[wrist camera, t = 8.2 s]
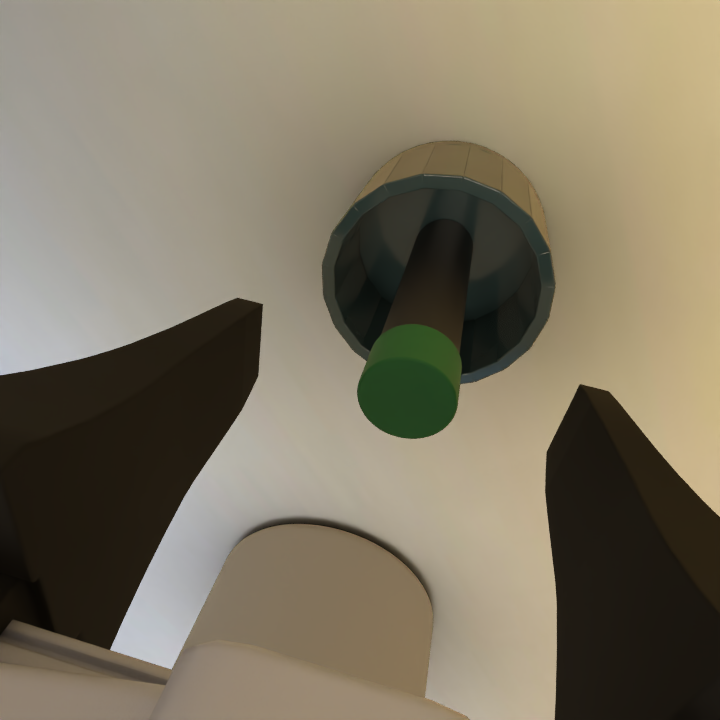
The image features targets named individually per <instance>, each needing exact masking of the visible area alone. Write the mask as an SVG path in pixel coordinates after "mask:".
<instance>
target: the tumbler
mask: <svg viewBox="0 0 720 720" xmlns="http://www.w3.org/2000/svg"><path fill="white" fill-rule="evenodd" d="M442 219H447V220H452V221H455V222H457V223H459V224H461V225H462V226H463V227H465V229H466V230H467V231H468V232H469V234H470V236H471V238H472V242H473V252H472V260H471V267H470V275H469V283H468V291H467V299H466V306H465V314H464V322H463V330H462V337H461V345H460V353H459V355H460V358H461V362H462V371H461V380H460V384H465V383H472V382H476V381H478V380H481V379H483V378H486V377H488V376H490V375H493V374H495V373H497V372H500V371H502V370H504V369H506V368H507V367H508V366H510V365H511V364H512V363H513V362H514V361H516V360H517V359H518V358H519V357H520V356H522V355H523V354H524V353H525V352H526V351H528V350H529V349H530V348H531V347H532V345H533V344H534V342H535V340H536V339H537V337H538V336H539V334H540V332H541V331H542V329H543V328H544V326H545V324H546V323H547V321H548V319H549V316H550V311H551V306H552V302H553V297H554V293H555V288H556V286H555V285H556V282H555V276H554V269H553V262H552V256H551V249H550V244H549V238H548V232H547V227H546V221H545V215H544V211H543V208H542V206H541V202H540V200H539V198H538V196H537V193H536V191H535V189H534V188H533V186H532V185H531V183H530V182H529V180H528V179H527V177H526V176H525V175H524V174H523V173H522V172H521V171H520V169H519V168H517V167H516V166H515V165H514V164H513V163H512V162H510V161H509V160H508V159H506V158H505V157H503V156H502V155H500V154H498V153H497V152H494V151H492V150H490V149H488V148H486V147H483V146H479V145H476V144H473V143H467V142H460V141H439V142H431V143H427V144H423V145H419V146H416V147H414V148H411V149H409V150H407V151H404V152H403V153H401V154H399V155H397V156H396V157H394V158H392V159H391V160H390V161H389V162H387V163H386V164H385V165H384V166H382V167H381V168H380V170H378V171H377V172H376V173H375V174H374V176H373V177H372V178H371V180H370V181H369V182H368V184H367V185H366V186H365V188H364V189H363V190H362V192H361V193H360V194H359V196H358V197H357V198H356V200H355V201H354V203H353V204H352V205H351V207H350V208H349V209H348V211H347V212H346V214H345V215H344V216H343V218H342V219H341V220H340V222H339V223H338V224H337V226H336V227H335V229H334V230H333V232H332V233H331V236H330V240H329V243H328V246H327V249H326V253H325V256H324V259H323V262H322V278H323V296H324V300H325V302H326V305H327V308H328V310H329V313H330V316H331V318H332V321H333V324H334V325H335V328H336V329H337V330H338V331H339V333H340V334H341V335H342V337H343V338H344V339H345V341H346V342H347V343H348V345H349V346H350V347H351V348H352V350H353V351H354V352H355V353H357V354H358V355H359V356H361V357H362V358H363V359H365V360H366V361H367V359H368V357H369V354H370V351H371V349H372V347H373V344H374V343H375V341H376V340H377V339H378V338H379V337H380V336H381V334H382V331H383V328H384V325H385V323H386V320H387V317H388V314H389V312H390V309H391V306H392V304H393V301H394V298H395V295H396V293H397V290H398V287H399V284H400V282H401V279H402V276H403V273H404V271H405V268H406V265H407V263H408V260H409V257H410V254H411V252H412V249H413V246H414V243H415V241H416V238H417V236H418V234H419V232H420V231H421V229H422V228H423V227H424V226H426V225H427V224H429V223H431V222H433V221H436V220H442Z"/></svg>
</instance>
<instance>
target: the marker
mask: <svg viewBox="0 0 720 720" xmlns="http://www.w3.org/2000/svg"><path fill="white" fill-rule="evenodd" d="M472 252H473V242H472V238H471V236H470V234H469V232H468V231H467V230H466V229H465V227H463V226H462V225H461V224H459V223H457V222H455V221H452V220H447V219H442V220H436V221H433V222H431V223H429V224H427V225H426V226H424V227H423V228H422V229H421V231H420V232H419V234H418V236H417V238H416V241H415V243H414V246H413V249H412V252H411V254H410V257H409V260H408V263H407V265H406V268H405V271H404V273H403V276H402V279H401V282H400V284H399V287H398V290H397V293H396V295H395V298H394V301H393V304H392V306H391V309H390V312H389V314H388V317H387V320H386V323H385V325H384V328H383V331H382V334H381V336H380V337H379V338H378V339H377V340H376V341H375V343H374V344H373V347H372V349H371V351H370V354H369V357H368V359H367V362H366V365H365V367H364V370H363V372H362V375H361V378H360V380H359V384H358V389H357V397H358V402H359V405H360V407H361V409H362V411H363V413H364V415H365V416H366V417H367V419H368V420H369V421H370V422H371V423H372V424H373V425H375V426H376V427H377V428H379V429H380V430H382V431H384V432H386V433H388V434H390V435H393V436H397V437H401V438H409V439H416V438H424V437H428V436H431V435H434V434H436V433H438V432H440V431H441V430H443V429H444V428H445V427H446V426H447V425H448V424H449V423H450V422H451V421H452V419H453V418H454V416H455V413H456V410H457V406H458V397H459V389H460V380H461V371H462V362H461V358H460V355H459V353H460V345H461V337H462V330H463V322H464V314H465V306H466V299H467V291H468V283H469V275H470V267H471V260H472Z"/></svg>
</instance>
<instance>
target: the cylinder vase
mask: <svg viewBox="0 0 720 720" xmlns="http://www.w3.org/2000/svg"><path fill="white" fill-rule="evenodd" d="M432 630H433V612H432V607H431V603H430V600H429V598H428V595H427V593H426V591H425V589H424V587H423V586H422V584H421V583H420V581H419V580H418V579H417V577H416V576H415V575H414V574H413V572H412V571H411V570H410V569H409V568H408V567H407V566H406V565H405V564H404V563H402V562H401V561H400V560H399V559H398V558H396V557H395V556H394V555H392V554H391V553H389V552H388V551H386V550H385V549H383V548H382V547H380V546H378V545H376V544H375V543H373V542H371V541H369V540H367V539H364V538H362V537H360V536H357V535H355V534H352V533H349V532H346V531H343V530H339V529H335V528H331V527H326V526H320V525H311V524H286V525H279V526H273V527H269V528H266V529H263V530H260V531H257V532H255V533H253V534H251V535H249V536H248V537H246V538H245V539H243V540H242V541H241V542H239V543H238V544H237V545H236V546H235V547H234V548H233V550H232V551H231V552H230V554H229V555H228V557H227V559H226V561H225V563H224V565H223V567H222V569H221V571H220V573H219V575H218V577H217V579H216V581H215V583H214V585H213V587H212V589H211V591H210V593H209V595H208V597H207V599H206V601H205V603H204V605H203V607H202V609H201V611H200V613H199V615H198V618H197V620H196V622H195V624H194V626H193V628H192V630H191V632H190V634H189V636H188V638H187V640H186V642H185V644H184V646H183V648H182V650H181V652H180V654H179V656H178V658H177V660H176V662H175V664H174V666H173V668H172V670H173V669H174V667H175V665H176V663H177V661H178V659H179V658H180V656H181V654H182V652H183V650H184V649H186V648H189V647H192V646H194V645H199V644H203V643H207V642H211V641H216V640H224V641H230V642H236V643H243V644H249V645H255V646H258V647H261V648H264V649H268V650H271V651H274V652H277V653H281V654H284V655H287V656H290V657H294V658H297V659H300V660H303V661H306V662H310V663H313V664H316V665H319V666H323V667H326V668H329V669H332V670H336V671H339V672H342V673H345V674H349V675H352V676H355V677H358V678H362V679H365V680H368V681H371V682H375V683H378V684H381V685H384V686H387V687H391V688H394V689H397V690H400V691H404V692H407V693H410V694H413V695H417V696H420V697H423V698H425V691H426V682H427V674H428V665H429V656H430V647H431V639H432Z"/></svg>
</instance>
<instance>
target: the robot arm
mask: <svg viewBox="0 0 720 720" xmlns="http://www.w3.org/2000/svg"><path fill="white" fill-rule="evenodd" d="M262 310H263V304H260V303H256V302H252V301H248V300H244V299H240V298H236V299H233V300H231V301H228V302H226V303H224V304H222V305H219V306H217V307H215V308H213V309H211V310H209V311H206V312H204V313H202V314H200V315H198V316H196V317H193V318H191V319H189V320H187V321H185V322H182V323H180V324H178V325H176V326H174V327H171V328H169V329H167V330H164V331H161V332H159V333H156V334H154V335H151V336H149V337H146V338H144V339H141V340H139V341H136V342H134V343H131V344H128V345H126V346H123V347H120V348H117V349H114V350H111V351H107V352H104V353H100V354H97V355H94V356H90V357H87V358H83V359H79V360H75V361H71V362H66V363H62V364H57V365H53V366H48V367H44V368H40V369H35V370H30V371H24V372H18V373H12V374H6V375H0V720H470V719H469V718H468V717H467V716H465V715H463V714H460V713H458V712H456V711H454V710H452V709H450V708H448V707H445V706H443V705H441V704H439V703H437V702H435V701H432V700H430V699H426V698H423V697H420V696H417V695H413V694H410V693H407V692H404V691H400V690H397V689H394V688H391V687H387V686H384V685H381V684H378V683H375V682H371V681H368V680H365V679H362V678H358V677H355V676H352V675H349V674H345V673H342V672H339V671H336V670H332V669H329V668H326V667H323V666H319V665H316V664H313V663H310V662H306V661H303V660H300V659H297V658H294V657H290V656H287V655H284V654H281V653H277V652H274V651H271V650H268V649H264V648H261V647H258V646H255V645H249V644H243V643H236V642H230V641H224V640H216V641H211V642H207V643H203V644H199V645H194V646H192V647H189V648H186V649H184V650H183V652H182V654H181V656H180V658H179V659H178V661H177V663H176V665H175V667H174V669H173V670H171V669H168V668H164V667H161V666H158V665H155V664H152V663H149V662H146V661H142V660H139V659H136V658H133V657H130V656H127V655H123V654H120V653H117V652H114V651H111V650H110V648H111V646H112V644H113V642H114V639H115V637H116V635H117V633H118V630H119V628H120V626H121V623H122V621H123V619H124V617H125V615H126V612H127V610H128V608H129V606H130V604H131V602H132V600H133V598H134V596H135V593H136V591H137V589H138V587H139V585H140V583H141V581H142V579H143V576H144V574H145V572H146V570H147V568H148V566H149V564H150V562H151V560H152V558H153V556H154V554H155V552H156V550H157V548H158V546H159V544H160V542H161V540H162V538H163V536H164V534H165V532H166V530H167V528H168V526H169V525H170V523H171V521H172V519H173V517H174V515H175V513H176V511H177V509H178V508H179V506H180V504H181V502H182V500H183V498H184V496H185V495H186V493H187V491H188V490H189V488H190V486H191V485H192V483H193V482H194V480H195V478H196V477H197V476H198V474H199V473H200V471H201V470H202V468H203V467H204V465H205V464H206V462H207V461H208V459H209V458H210V456H211V455H212V453H213V452H214V451H215V449H216V448H217V446H218V445H219V443H220V442H221V440H222V439H223V437H224V436H225V434H226V433H227V431H228V430H229V428H230V427H231V425H232V424H233V422H234V421H235V419H236V418H237V416H238V415H239V413H240V412H241V410H242V408H243V406H244V404H245V402H246V400H247V398H248V396H249V394H250V392H251V390H252V388H253V386H254V384H255V382H256V379H257V377H258V372H259V356H260V341H261V325H262ZM545 493H546V504H547V513H548V522H549V531H550V540H551V548H552V557H553V565H554V574H555V583H556V597H557V671H556V705H555V720H720V517H719V516H718V515H717V514H716V513H715V512H714V511H713V510H712V509H711V508H710V507H709V506H708V505H707V504H706V503H705V502H704V501H703V500H702V499H701V498H700V497H699V496H698V495H697V494H696V493H695V492H694V491H693V490H692V489H691V488H690V487H689V485H688V484H687V483H686V482H685V481H684V480H683V479H682V478H681V477H680V476H679V475H678V474H677V472H676V471H675V470H674V469H673V468H672V467H671V466H670V465H669V463H668V462H667V461H666V460H665V459H664V458H663V456H662V455H661V454H660V453H659V452H658V450H657V449H656V448H655V447H654V446H653V444H652V443H651V442H650V441H649V440H648V438H647V437H646V436H645V435H644V433H643V432H642V431H641V430H640V428H639V427H638V426H637V425H636V423H635V422H634V421H633V420H632V418H631V417H630V416H629V415H628V413H627V412H626V411H625V410H624V409H623V407H622V406H621V405H620V404H619V402H618V401H617V400H616V399H615V398H614V397H613V396H612V395H611V393H610V392H609V391H605V390H601V389H597V388H593V387H589V386H585V385H581V384H580V385H579V387H578V389H577V391H576V393H575V396H574V398H573V400H572V402H571V404H570V406H569V408H568V410H567V412H566V414H565V416H564V418H563V420H562V422H561V424H560V426H559V428H558V430H557V432H556V434H555V436H554V438H553V440H552V442H551V444H550V447H549V449H548V451H547V458H546V485H545Z"/></svg>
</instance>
